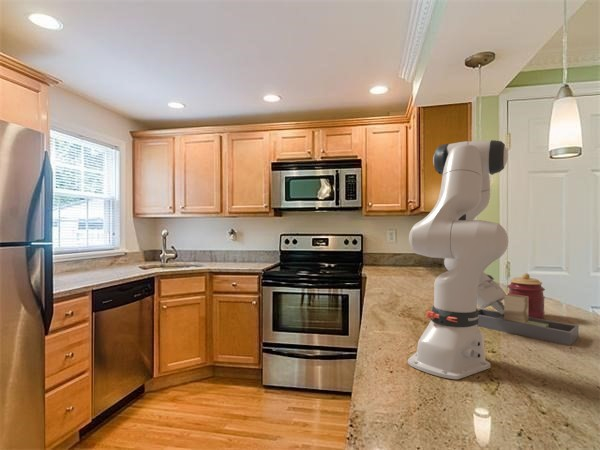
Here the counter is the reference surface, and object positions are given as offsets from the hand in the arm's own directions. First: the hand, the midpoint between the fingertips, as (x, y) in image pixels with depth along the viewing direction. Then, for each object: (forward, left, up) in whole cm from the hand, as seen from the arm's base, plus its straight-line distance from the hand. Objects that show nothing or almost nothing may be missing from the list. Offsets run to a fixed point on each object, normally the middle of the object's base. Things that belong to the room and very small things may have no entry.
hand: (504, 312), depth 129 cm
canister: (+24, 0, -6) cm, 25 cm away
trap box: (0, -5, -5) cm, 7 cm away
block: (0, -4, -2) cm, 4 cm away
